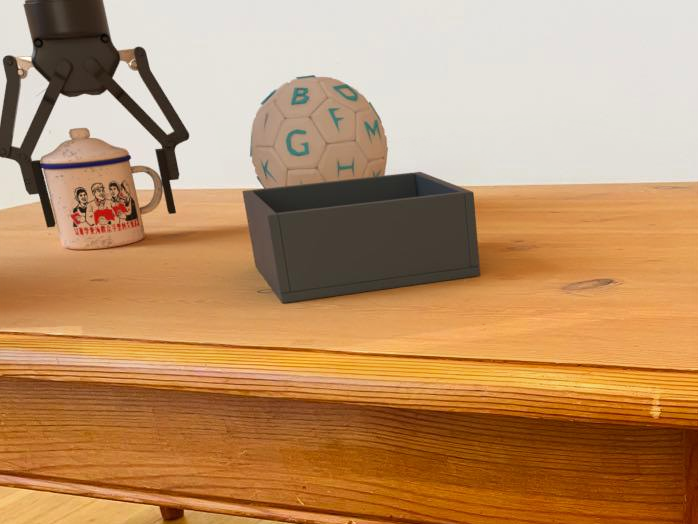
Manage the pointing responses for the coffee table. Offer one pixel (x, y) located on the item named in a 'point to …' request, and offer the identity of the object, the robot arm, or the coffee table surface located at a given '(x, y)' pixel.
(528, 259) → the coffee table surface
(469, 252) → the bin
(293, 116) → the puzzle ball
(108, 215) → the teacup with lid
